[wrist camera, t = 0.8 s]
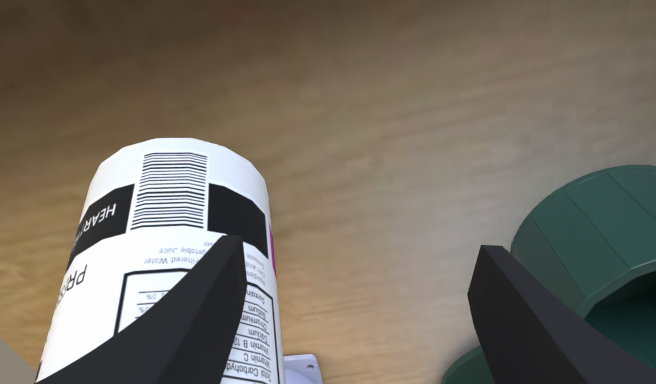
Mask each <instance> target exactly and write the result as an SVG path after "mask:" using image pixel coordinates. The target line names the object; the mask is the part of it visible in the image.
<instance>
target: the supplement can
mask: <svg viewBox="0 0 656 384" xmlns="http://www.w3.org/2000/svg"><path fill="white" fill-rule="evenodd" d="M222 235H233V236H243V246H244V256H245V266H246V276H247V291H246V297H245V302H244V307H243V313H242V317H241V320H240V324H239V327H238V330H237V333H236V336H235V339H234V343H233V346H232V349H231V352H230V355H229V358H228V361H227V364H226V368H225V371H224V374H223V377H222V380H221V383H220V384H286V380H285V369H284V358H283V347H282V336H281V325H280V314H279V303H278V292H277V282H276V271H275V260H274V249H273V238H272V227H271V216H270V205H269V197H268V192H267V188H266V183H265V180H264V178H263V177H262V176H261V175H260V173H259V172H258V171H257V170H256V169H255V167H254V166H253V165H252V164H251V162H250V161H248V160H246V159H245V158H243V157H241V156H239V155H238V154H236V153H234V152H233V151H231V150H229V149H227V148H226V147H223V146H219V145H217V144H213V143H209V142H205V141H201V140H197V139H193V138H156V139H152V140H148V141H145V142H141V143H138V144H134V145H131V146H127V147H124V148H122V149H121V150H119V151H118V152H117V153H115V154H114V155H112V156H111V157H109V158H108V159H107V160H105V161H104V162H102V163H101V164H100V166H99V168H98V170H97V172H96V174H95V176H94V178H93V180H92V182H91V184H90V188H89V191H88V195H87V198H86V202H85V205H84V209H83V212H82V216H81V220H80V223H79V227H78V230H77V234H76V237H75V241H74V244H73V248H72V251H71V255H70V259H69V262H68V266H67V269H66V273H65V276H64V280H63V283H62V287H61V290H60V294H59V298H58V301H57V305H56V308H55V312H54V315H53V319H52V322H51V326H50V329H49V333H48V337H47V340H46V344H45V347H44V351H43V354H42V358H41V361H40V365H39V368H38V372H37V376H36V379H35V383H36V382H38V381H40V380H42V379H44V378H46V377H48V376H50V375H51V374H53V373H55V372H57V371H59V370H60V369H62V368H64V367H65V366H67V365H69V364H71V363H72V362H74V361H76V360H77V359H79V358H81V357H82V356H84V355H86V354H87V353H89V352H90V351H92V350H94V349H95V348H97V347H98V346H99V345H101V344H102V343H104V342H105V341H107V340H108V339H110V338H111V337H113V336H114V335H115V334H117V333H118V332H120V331H121V330H123V329H124V328H125V327H127V326H128V325H129V324H131V323H132V322H133V321H135V320H136V319H137V318H138V317H140V316H141V315H142V314H143V313H145V312H146V311H147V310H148V309H149V308H150V307H152V306H153V305H154V304H155V303H156V302H157V301H159V300H160V299H161V298H162V297H163V296H164V295H165V294H166V293H167V292H168V291H169V290H170V289H171V288H172V287H174V286H175V285H176V284H177V283H178V282H179V281H180V280H181V279H182V278H183V277H184V276H185V275H186V274H187V273H188V272H189V271H190V269H191V268H192V267H193V266H194V265H195V264H196V263H197V262H198V261H199V260H200V259H201V258H202V257H203V256H204V254H205V253H206V252H207V251H208V250H209V249H210V248H211V247H212V246H213V244H214V243H215V242H216V241H217V240H218V239H219V238H220V237H221V236H222Z"/></svg>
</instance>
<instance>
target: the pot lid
mask: <svg viewBox="0 0 656 384" xmlns="http://www.w3.org/2000/svg"><path fill="white" fill-rule="evenodd" d="M441 384H494V381H493V378H492V375H491V372H490V370H489V367H488V364H487V361H486V358H485V356H484V353H483V350H482V347H481V346H479V347H477V348H475V349H473V350H471V351H470V352H468V353H467V354H465V355H463V356H462V357H461V358H459V359H458V360H457V361H456V362H455V363H454V364H453V365H452V366H451V367H450V368H449V369H448V371H447V372H446V373H445V375H444V377H443V379H442V381H441Z"/></svg>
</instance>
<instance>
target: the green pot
mask: <svg viewBox="0 0 656 384" xmlns="http://www.w3.org/2000/svg"><path fill="white" fill-rule="evenodd" d="M511 255H512V256H513V257H514V258H515V259H516V260H517V261H518V262H519V263H520V264H521V265H522V266H523V267H524V268H525V269H527V270H528V271H529V272H530V273H531V274H532V275H533V276H534V277H535V278H536V279H537V280H538V281H539V282H540V283H541V284H542V285H544V286H545V287H546V288H547V289H548V290H549V291H550V292H551V293H552V294H553V295H555V296H556V297H557V298H558V299H559V300H560V301H561V302H563V303H564V304H565V305H566V306H567V307H568V308H570V309H571V310H572V311H573V312H574V313H576V314H577V315H578V316H579V317H581V318H582V319H583V320H584V321H585V322H587V323H588V324H589V325H591V326H592V327H593V328H594V329H596V330H597V331H598V332H600V333H601V334H603V335H604V336H605V337H607V338H608V339H609V340H611V341H612V342H614V343H615V344H616V345H618V346H619V347H621V348H622V349H623V350H625V351H626V352H628V353H629V354H631V355H632V356H634V357H635V358H637V359H638V360H640V361H642V362H643V363H645V364H646V365H648V366H649V367H651V368H653V369H654V370H656V166H650V165H628V166H619V167H613V168H608V169H604V170H601V171H597V172H594V173H591V174H588V175H586V176H583V177H580V178H578V179H576V180H574V181H572V182H570V183H568V184H566V185H565V186H563V187H561V188H560V189H558V190H556V191H555V192H553V193H552V194H551V195H549V196H548V197H547V198H545V199H544V200H543V201H542V202H541V203H540V204H539V205H538V206H537V207H535V208H534V209H533V211H532V212H531V213H530V214H529V215H528V216H527V218H526V219H525V220H524V222H523V223H522V225H521V226H520V228H519V230H518V232H517V234H516V236H515V238H514V241H513V244H512V249H511Z"/></svg>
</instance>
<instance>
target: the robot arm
mask: <svg viewBox="0 0 656 384" xmlns="http://www.w3.org/2000/svg"><path fill="white" fill-rule="evenodd" d="M246 291H247V276H246V266H245V256H244V246H243V236H233V235H222V236H221V237H220V238H219V239H218V240H217V241H216V242H215V243H214V244H213V246H212V247H211V248H210V249H209V250H208V251H207V252H206V253H205V254H204V256H203V257H202V258H201V259H200V260H199V261H198V262H197V263H196V264H195V265H194V266H193V267H192V268H191V269H190V271H189V272H188V273H187V274H186V275H185V276H184V277H183V278H182V279H181V280H180V281H179V282H178V283H177V284H176V285H175V286H174V287H172V288H171V289H170V290H169V291H168V292H167V293H166V294H165V295H164V296H163V297H162V298H161V299H160V300H159V301H157V302H156V303H155V304H154V305H153V306H152V307H150V308H149V309H148V310H147V311H146V312H145V313H143V314H142V315H141V316H140V317H138V318H137V319H136V320H135V321H133V322H132V323H131V324H129V325H128V326H127V327H125V328H124V329H123V330H121V331H120V332H118V333H117V334H115V335H114V336H113V337H111V338H110V339H108V340H107V341H105V342H104V343H102V344H101V345H99V346H98V347H97V348H95V349H94V350H92V351H90V352H89V353H87V354H86V355H84V356H82V357H81V358H79V359H77V360H76V361H74V362H72V363H71V364H69V365H67V366H65V367H64V368H62V369H60V370H59V371H57V372H55V373H53V374H51V375H50V376H48V377H46V378H44V379H42V380H40V381H38V382H36V383H34V384H220V383H221V380H222V377H223V374H224V371H225V368H226V364H227V361H228V358H229V355H230V352H231V349H232V346H233V343H234V339H235V336H236V333H237V330H238V327H239V324H240V320H241V317H242V313H243V307H244V302H245V297H246ZM467 295H468V300H469V305H470V310H471V315H472V319H473V323H474V327H475V330H476V333H477V336H478V339H479V342H480V344H481V347H482V350H483V353H484V356H485V358H486V361H487V364H488V367H489V370H490V372H491V375H492V378H493V381H494V384H656V370H654V369H653V368H651V367H649V366H648V365H646V364H645V363H643V362H642V361H640V360H638V359H637V358H635V357H634V356H632V355H631V354H629V353H628V352H626V351H625V350H623V349H622V348H621V347H619V346H618V345H616V344H615V343H614V342H612V341H611V340H609V339H608V338H607V337H605V336H604V335H603V334H601V333H600V332H598V331H597V330H596V329H594V328H593V327H592V326H591V325H589V324H588V323H587V322H585V321H584V320H583V319H582V318H581V317H579V316H578V315H577V314H576V313H574V312H573V311H572V310H571V309H570V308H568V307H567V306H566V305H565V304H564V303H563V302H561V301H560V300H559V299H558V298H557V297H556V296H555V295H553V294H552V293H551V292H550V291H549V290H548V289H547V288H546V287H545V286H544V285H542V284H541V283H540V282H539V281H538V280H537V279H536V278H535V277H534V276H533V275H532V274H531V273H530V272H529V271H528V270H527V269H525V268H524V267H523V266H522V265H521V264H520V263H519V262H518V261H517V260H516V259H515V258H514V257H513V256H512V255H511V254H510V253H509V252H508V251H507V250H505V249H504V248H503V247H502V246H489V245H481V247H480V251H479V254H478V258H477V262H476V265H475V269H474V273H473V276H472V280H471V283H470V287H469V291H468V294H467ZM283 358H284V369H285V380H286V384H324V383H323V379H322V376H321V372H320V368H319V365H318V361H317V358H316V356H314V355H312V354H303V355H290V356H283Z"/></svg>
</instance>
